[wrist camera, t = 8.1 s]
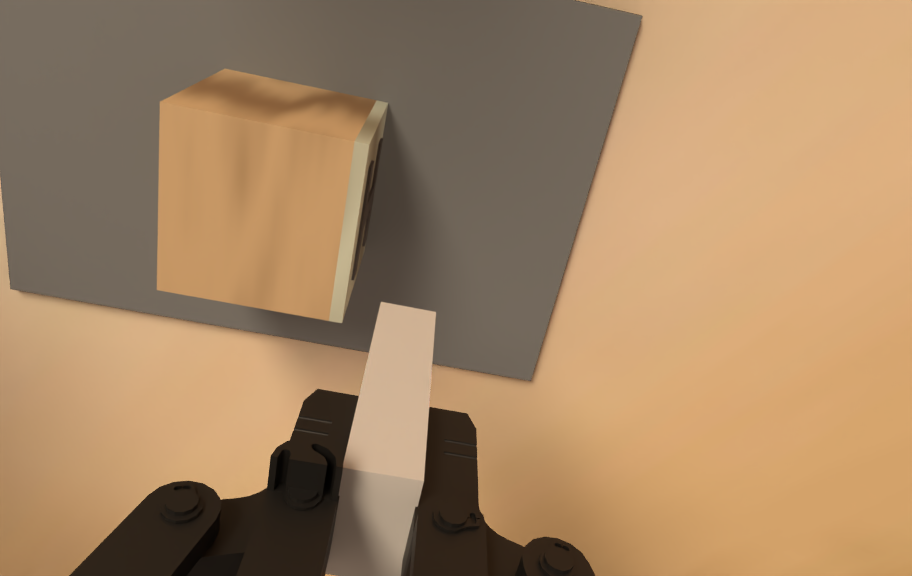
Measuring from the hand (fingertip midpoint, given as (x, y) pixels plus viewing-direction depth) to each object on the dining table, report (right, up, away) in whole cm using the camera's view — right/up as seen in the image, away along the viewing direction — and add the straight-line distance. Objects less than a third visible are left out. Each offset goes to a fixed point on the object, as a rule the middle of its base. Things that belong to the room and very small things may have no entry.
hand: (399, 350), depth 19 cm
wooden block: (-2, +5, +9) cm, 10 cm away
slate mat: (-6, +7, +12) cm, 15 cm away
